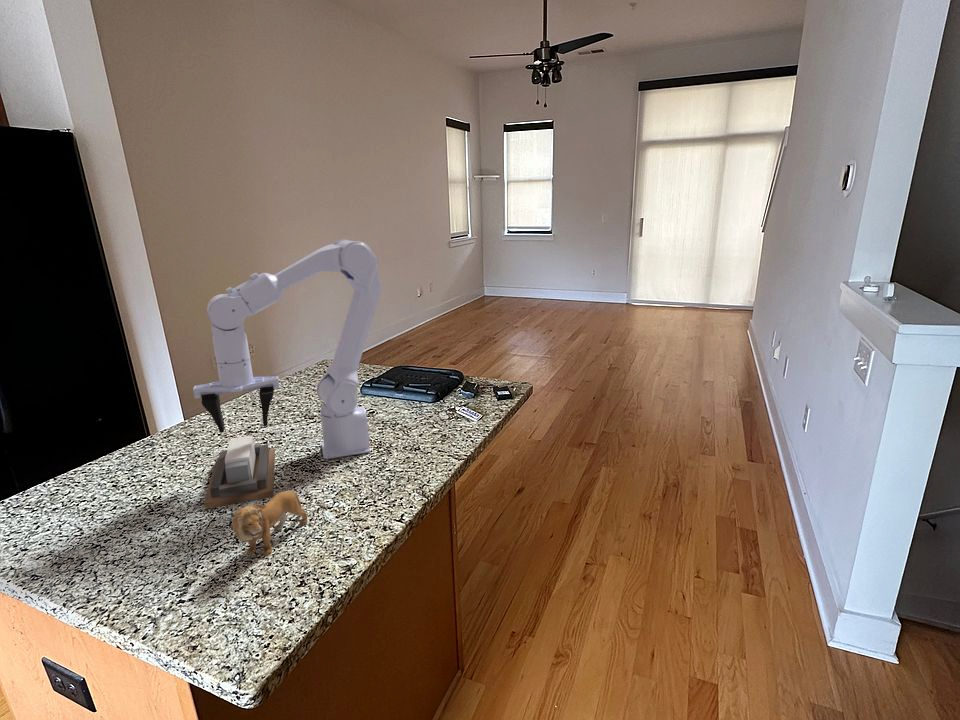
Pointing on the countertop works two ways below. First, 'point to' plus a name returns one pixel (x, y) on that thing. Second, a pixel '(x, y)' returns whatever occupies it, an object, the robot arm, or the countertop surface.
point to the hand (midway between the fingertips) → (244, 427)
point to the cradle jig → (243, 490)
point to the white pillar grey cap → (240, 459)
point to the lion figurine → (266, 519)
